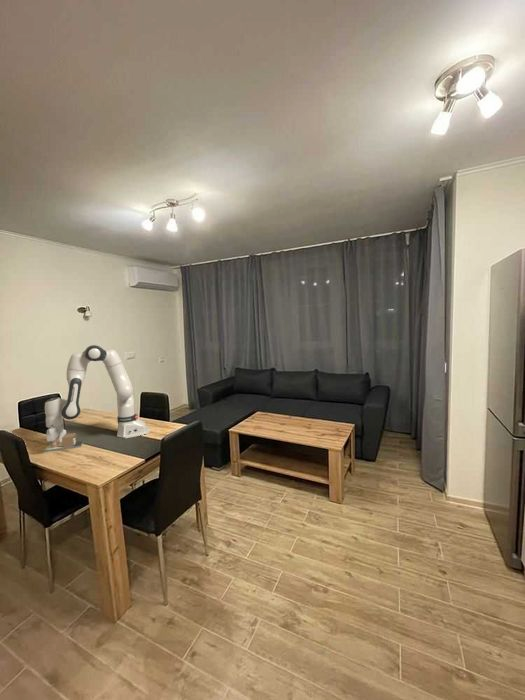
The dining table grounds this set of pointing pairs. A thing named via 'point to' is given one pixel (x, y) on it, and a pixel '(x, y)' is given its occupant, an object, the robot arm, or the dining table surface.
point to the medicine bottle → (62, 435)
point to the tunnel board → (66, 443)
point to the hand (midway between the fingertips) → (56, 443)
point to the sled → (61, 442)
